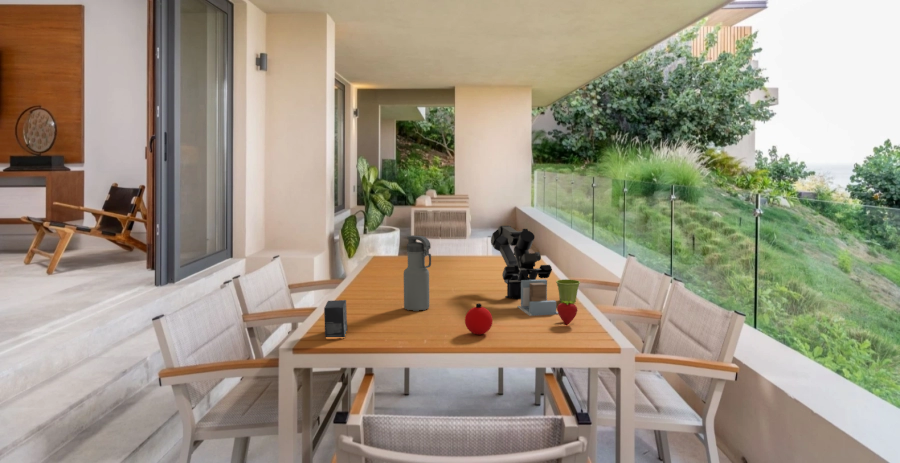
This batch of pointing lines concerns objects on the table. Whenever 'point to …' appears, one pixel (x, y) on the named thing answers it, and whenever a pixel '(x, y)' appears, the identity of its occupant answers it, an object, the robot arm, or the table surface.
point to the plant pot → (568, 289)
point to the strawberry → (567, 311)
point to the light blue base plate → (526, 310)
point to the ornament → (478, 320)
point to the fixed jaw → (542, 307)
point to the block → (537, 292)
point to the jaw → (526, 290)
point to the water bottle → (417, 274)
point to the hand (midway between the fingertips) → (531, 290)
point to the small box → (335, 318)
